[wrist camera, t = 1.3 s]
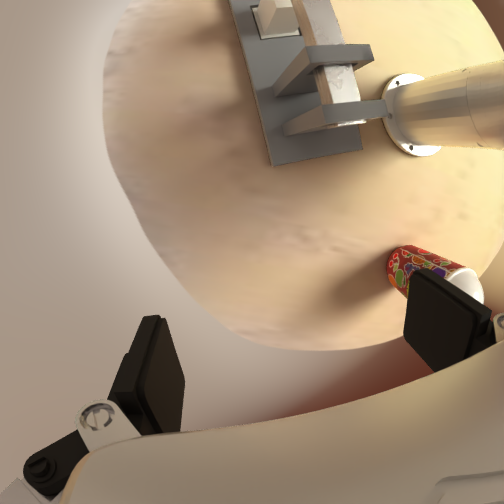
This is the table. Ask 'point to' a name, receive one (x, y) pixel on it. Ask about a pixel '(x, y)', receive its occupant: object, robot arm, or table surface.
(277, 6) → the plug
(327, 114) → the socket block
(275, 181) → the table surface
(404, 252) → the smoothie
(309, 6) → the bolt
